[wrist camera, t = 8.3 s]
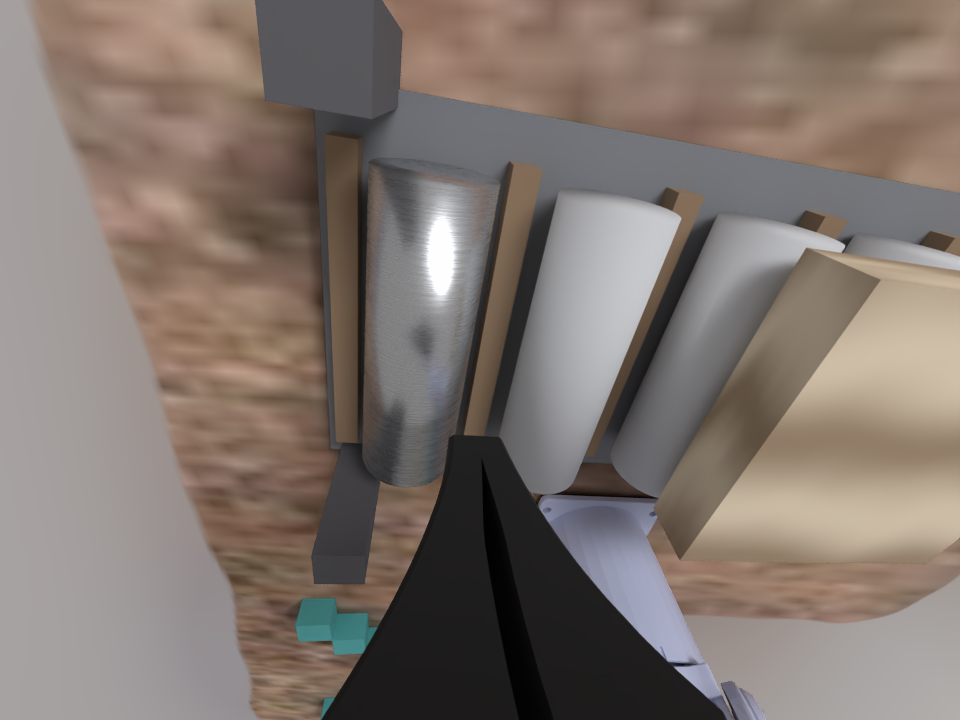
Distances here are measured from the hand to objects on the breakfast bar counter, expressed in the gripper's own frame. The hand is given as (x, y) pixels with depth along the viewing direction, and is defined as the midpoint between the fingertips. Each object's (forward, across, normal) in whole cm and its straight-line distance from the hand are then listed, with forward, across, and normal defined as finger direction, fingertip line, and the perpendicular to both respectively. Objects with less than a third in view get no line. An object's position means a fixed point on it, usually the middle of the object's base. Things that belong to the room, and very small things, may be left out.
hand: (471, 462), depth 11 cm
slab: (+3, -15, 0) cm, 16 cm away
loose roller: (+8, +2, 0) cm, 8 cm away
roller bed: (+8, -8, 0) cm, 12 cm away
